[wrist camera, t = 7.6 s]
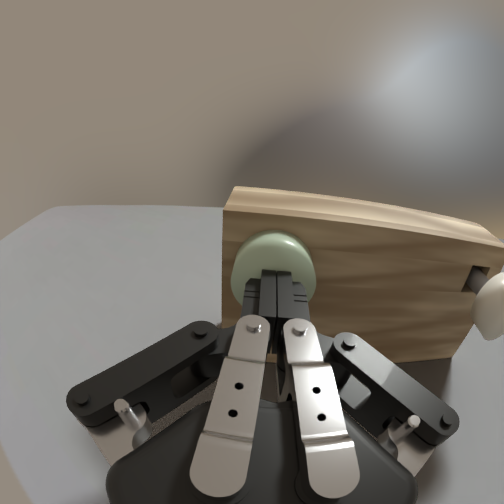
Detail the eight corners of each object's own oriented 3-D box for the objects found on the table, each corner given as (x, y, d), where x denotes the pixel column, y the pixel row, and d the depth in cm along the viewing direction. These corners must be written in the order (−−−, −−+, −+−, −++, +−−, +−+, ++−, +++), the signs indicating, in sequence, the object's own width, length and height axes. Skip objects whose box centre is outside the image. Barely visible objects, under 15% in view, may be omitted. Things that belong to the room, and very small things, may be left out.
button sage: (307, 319, 15) (323, 251, 13) (229, 313, 15) (231, 242, 13) (300, 267, 20) (309, 210, 18) (240, 261, 20) (243, 204, 18)
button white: (505, 337, 12) (533, 289, 10) (472, 343, 13) (504, 288, 10) (474, 294, 17) (493, 250, 15) (440, 293, 18) (460, 244, 15)
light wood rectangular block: (452, 357, 20) (509, 249, 14) (222, 357, 20) (223, 210, 15) (434, 324, 24) (478, 223, 18) (230, 316, 25) (234, 186, 19)
